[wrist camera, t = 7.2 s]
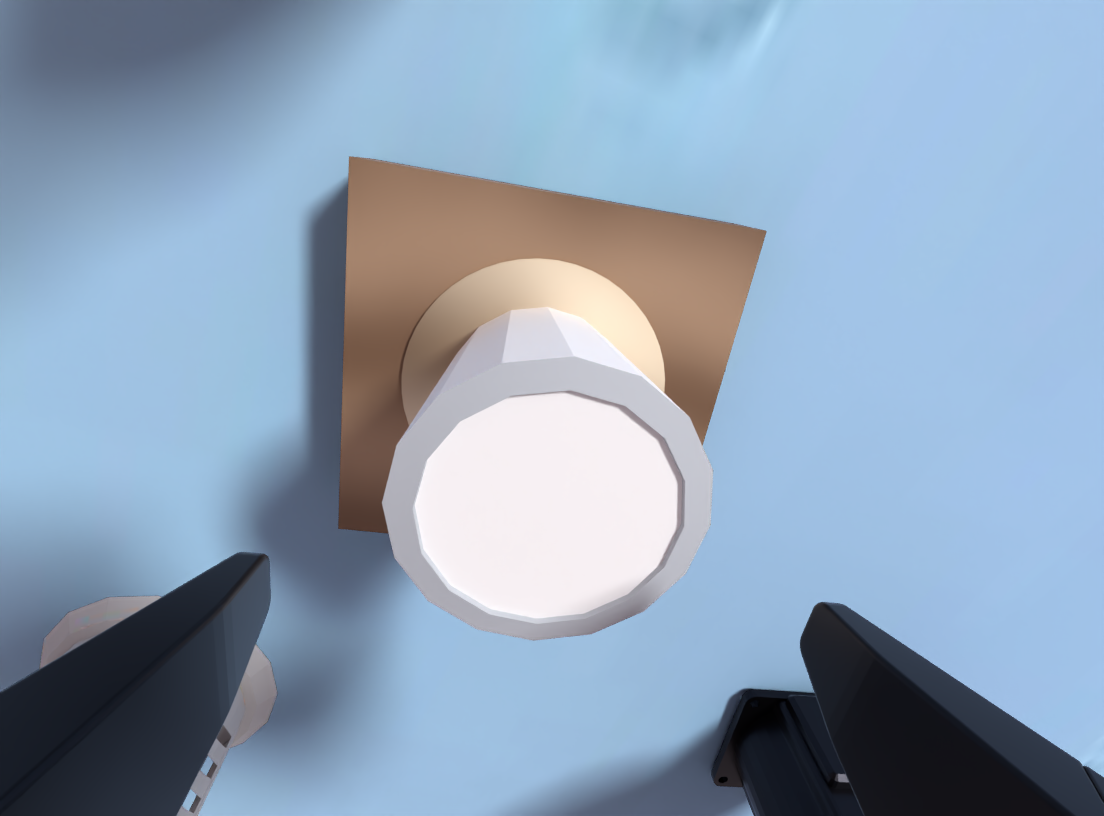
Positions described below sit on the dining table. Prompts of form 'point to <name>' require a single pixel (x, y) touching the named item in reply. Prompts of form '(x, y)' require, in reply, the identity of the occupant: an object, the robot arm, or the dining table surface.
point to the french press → (247, 705)
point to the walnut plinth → (517, 296)
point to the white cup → (546, 483)
